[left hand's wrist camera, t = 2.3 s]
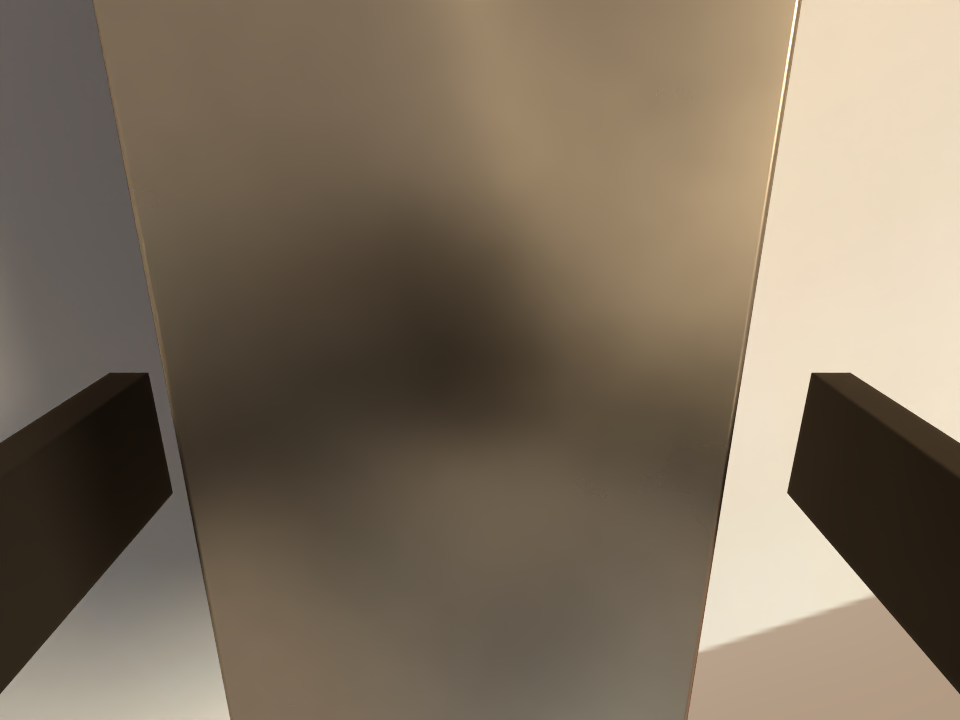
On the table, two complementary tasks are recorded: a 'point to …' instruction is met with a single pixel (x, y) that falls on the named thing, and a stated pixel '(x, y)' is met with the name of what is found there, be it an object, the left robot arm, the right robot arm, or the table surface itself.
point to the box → (452, 333)
